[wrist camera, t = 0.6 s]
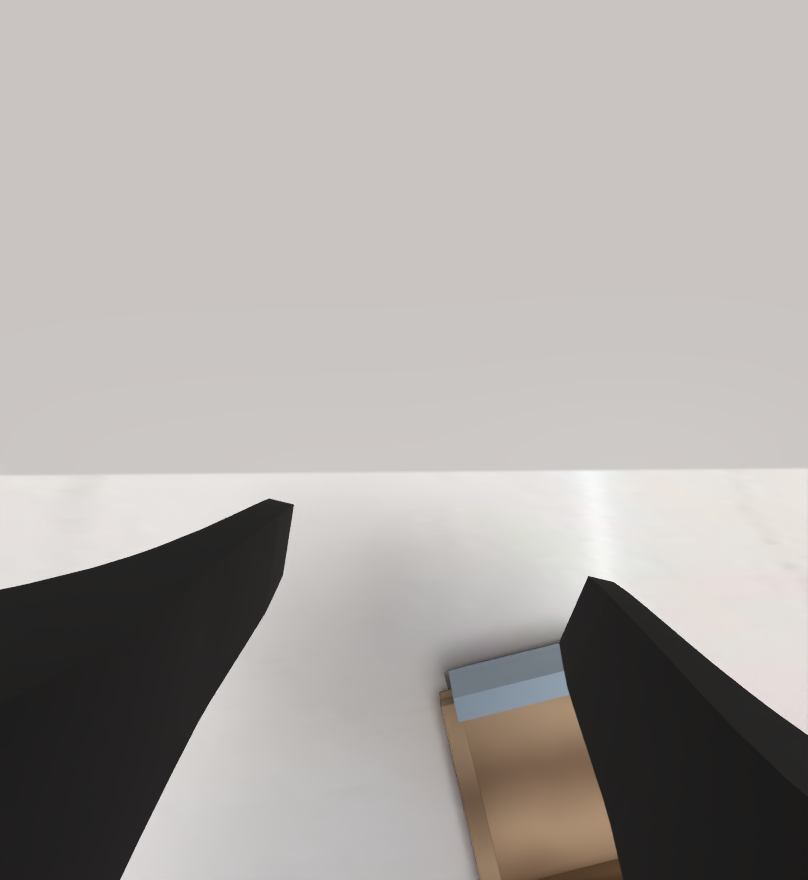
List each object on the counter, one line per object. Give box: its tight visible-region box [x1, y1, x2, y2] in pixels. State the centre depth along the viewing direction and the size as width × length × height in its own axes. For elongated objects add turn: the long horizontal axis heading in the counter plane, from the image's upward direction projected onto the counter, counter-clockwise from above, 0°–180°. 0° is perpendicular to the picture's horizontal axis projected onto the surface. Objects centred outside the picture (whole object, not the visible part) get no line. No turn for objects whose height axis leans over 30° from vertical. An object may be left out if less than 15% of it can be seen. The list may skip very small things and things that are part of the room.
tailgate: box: [445, 643, 569, 722], centre depth 27 cm, size 1×11×6 cm, turn 103°
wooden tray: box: [440, 690, 623, 880], centre depth 27 cm, size 12×12×4 cm
